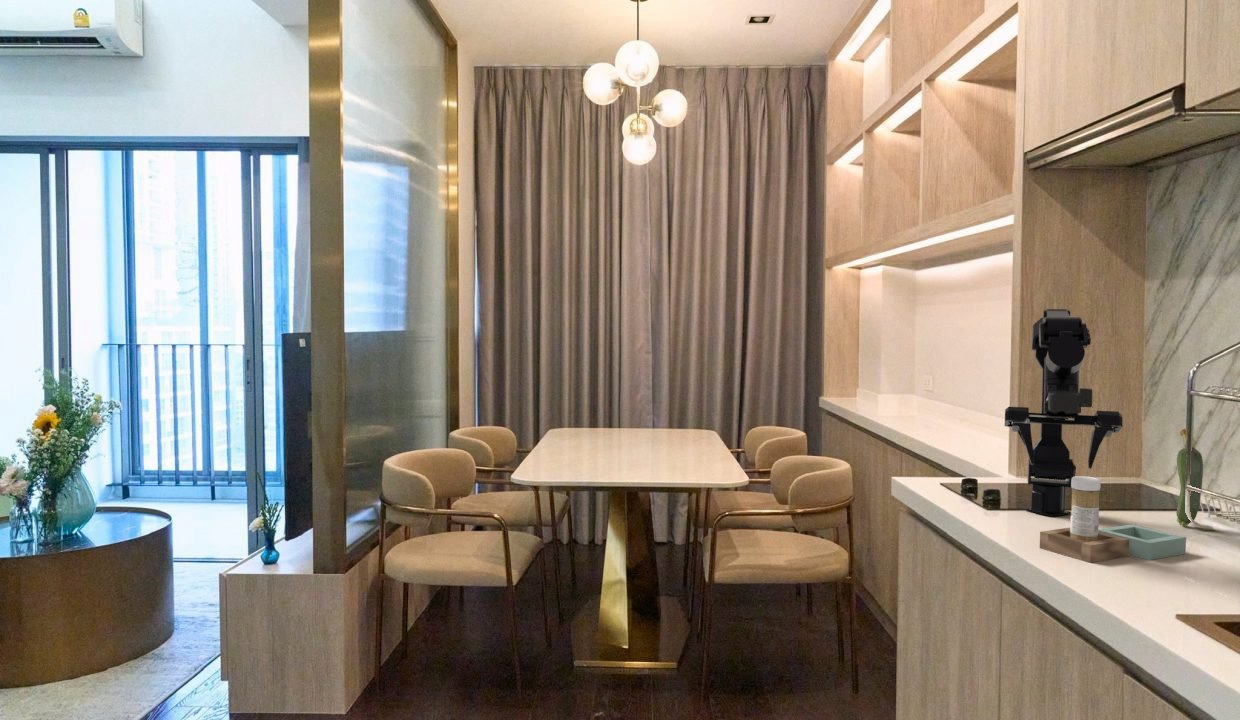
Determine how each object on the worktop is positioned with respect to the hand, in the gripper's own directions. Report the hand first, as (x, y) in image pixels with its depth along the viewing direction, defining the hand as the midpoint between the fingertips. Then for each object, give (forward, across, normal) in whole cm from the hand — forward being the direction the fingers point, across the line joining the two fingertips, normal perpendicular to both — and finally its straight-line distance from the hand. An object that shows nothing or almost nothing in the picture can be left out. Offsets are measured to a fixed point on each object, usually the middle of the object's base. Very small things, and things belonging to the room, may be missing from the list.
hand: (1060, 466), depth 150 cm
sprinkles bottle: (+14, +4, +6) cm, 16 cm away
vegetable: (+5, +25, +34) cm, 42 cm away
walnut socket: (+14, +4, +6) cm, 16 cm away
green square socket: (+12, +14, +12) cm, 22 cm away
